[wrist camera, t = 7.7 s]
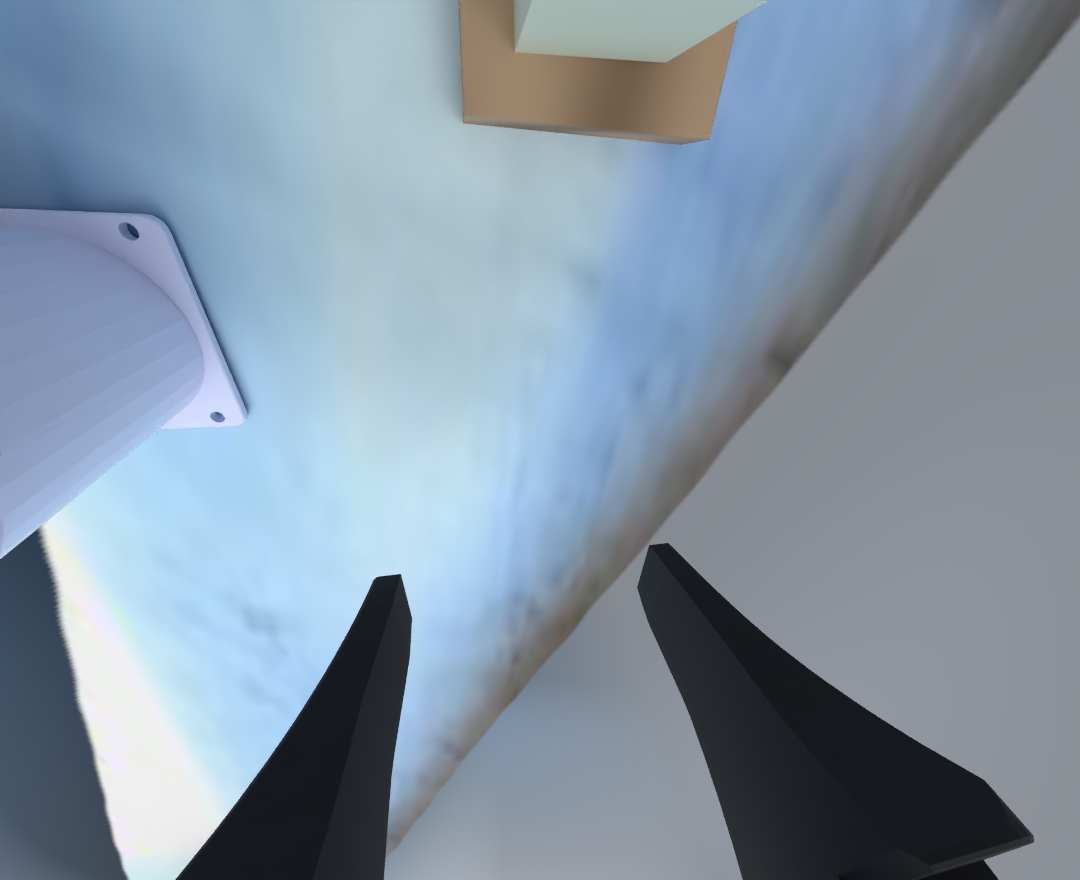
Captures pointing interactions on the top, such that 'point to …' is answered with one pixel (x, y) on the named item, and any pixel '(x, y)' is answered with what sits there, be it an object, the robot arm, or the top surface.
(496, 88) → the walnut base block
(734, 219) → the top surface
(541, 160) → the top surface
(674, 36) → the sage block
